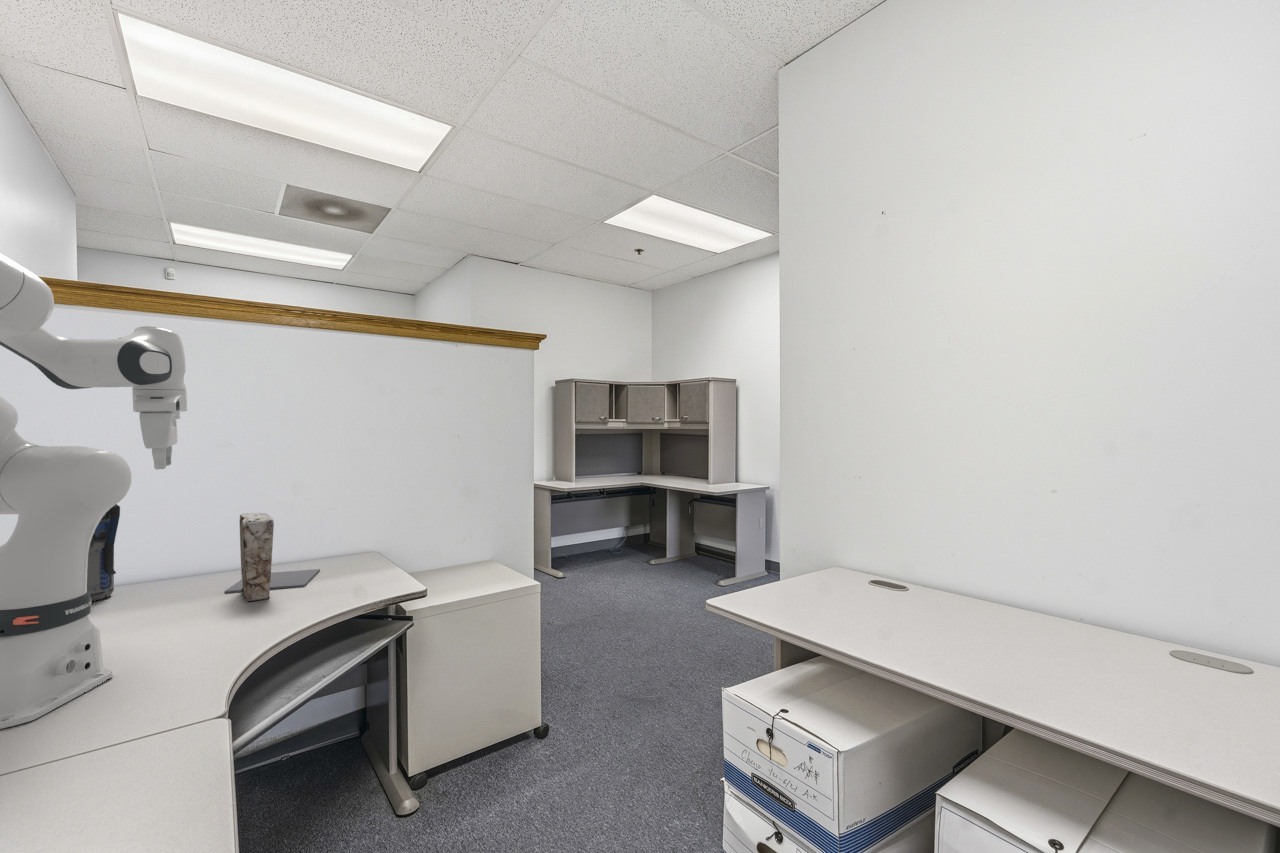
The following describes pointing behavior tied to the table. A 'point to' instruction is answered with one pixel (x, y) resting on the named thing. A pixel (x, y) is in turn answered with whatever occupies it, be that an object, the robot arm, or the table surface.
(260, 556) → the stone block
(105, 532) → the grey blue tall cylinder
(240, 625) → the table surface
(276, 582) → the mat
